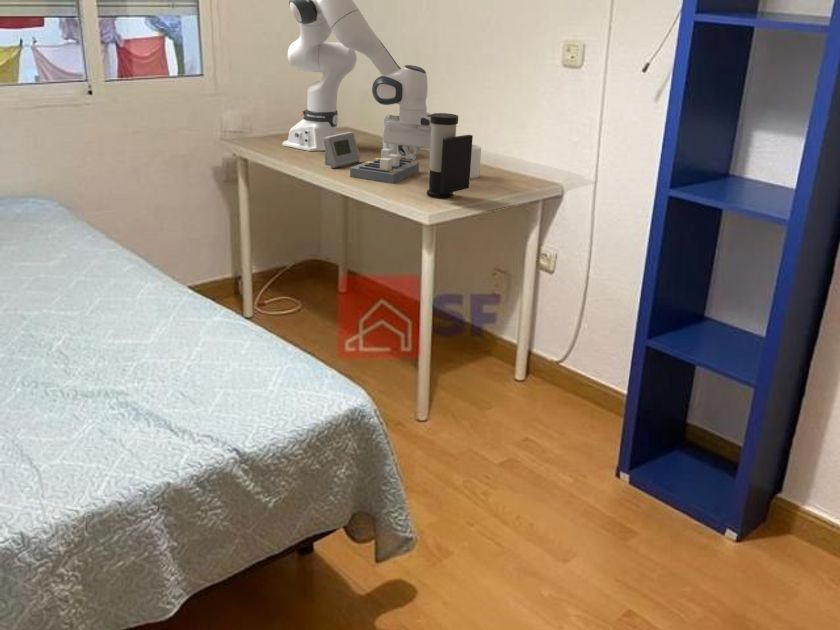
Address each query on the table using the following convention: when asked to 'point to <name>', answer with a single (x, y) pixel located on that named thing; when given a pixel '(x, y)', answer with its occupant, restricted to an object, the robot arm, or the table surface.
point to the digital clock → (341, 150)
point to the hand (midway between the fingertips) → (410, 159)
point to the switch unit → (384, 171)
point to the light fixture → (448, 157)
